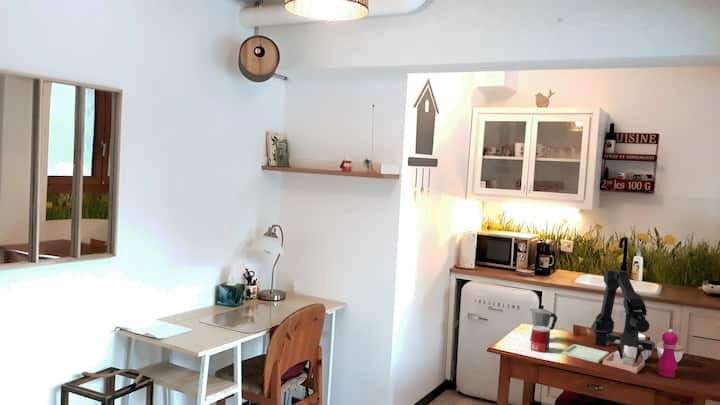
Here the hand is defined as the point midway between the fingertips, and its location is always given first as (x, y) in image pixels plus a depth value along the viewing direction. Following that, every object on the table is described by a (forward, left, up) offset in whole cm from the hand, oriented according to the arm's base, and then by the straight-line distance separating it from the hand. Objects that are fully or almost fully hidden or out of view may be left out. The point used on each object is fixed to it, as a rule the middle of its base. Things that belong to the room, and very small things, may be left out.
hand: (628, 360), depth 261 cm
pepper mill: (-4, +15, -4) cm, 16 cm away
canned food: (+7, -37, -4) cm, 38 cm away
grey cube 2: (0, 0, -3) cm, 3 cm away
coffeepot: (-8, -42, -4) cm, 44 cm away
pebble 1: (-5, -5, -3) cm, 8 cm away
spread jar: (-17, 0, -4) cm, 18 cm away
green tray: (-3, -19, -4) cm, 20 cm away
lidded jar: (-24, +12, -4) cm, 27 cm away
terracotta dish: (-2, -2, -4) cm, 5 cm away
